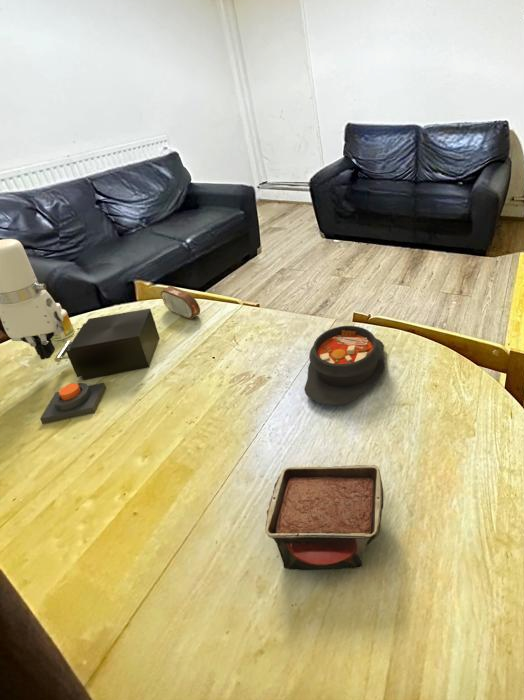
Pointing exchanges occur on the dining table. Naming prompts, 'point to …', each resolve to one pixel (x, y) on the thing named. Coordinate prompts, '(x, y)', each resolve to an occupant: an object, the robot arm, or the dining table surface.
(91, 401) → the panel
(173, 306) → the tin
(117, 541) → the dining table surface
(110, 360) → the black rectangular box
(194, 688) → the dining table surface
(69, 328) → the supplement bottle
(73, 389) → the button
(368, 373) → the casserole
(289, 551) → the baking dish
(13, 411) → the dining table surface
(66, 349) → the drawer
